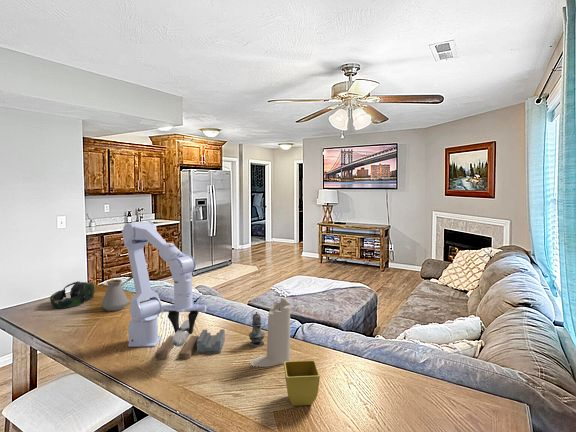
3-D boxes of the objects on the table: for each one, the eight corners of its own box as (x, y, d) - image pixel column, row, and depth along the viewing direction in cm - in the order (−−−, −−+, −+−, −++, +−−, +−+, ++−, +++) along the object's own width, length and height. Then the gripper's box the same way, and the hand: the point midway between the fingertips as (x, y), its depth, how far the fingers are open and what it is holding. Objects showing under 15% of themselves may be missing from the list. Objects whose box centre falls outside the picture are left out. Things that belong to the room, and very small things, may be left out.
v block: (196, 353, 124) (196, 341, 124) (203, 340, 134) (202, 329, 134) (220, 352, 125) (220, 341, 124) (224, 340, 134) (224, 329, 134)
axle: (184, 346, 114) (184, 334, 114) (171, 346, 114) (171, 334, 114) (194, 331, 126) (194, 320, 126) (182, 330, 126) (182, 319, 125)
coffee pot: (112, 314, 161) (111, 281, 160) (95, 310, 167) (94, 278, 165) (150, 301, 180) (150, 271, 179) (135, 297, 185) (134, 268, 184)
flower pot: (283, 391, 101) (283, 360, 100) (314, 390, 102) (314, 359, 101) (286, 411, 93) (286, 377, 92) (320, 409, 93) (320, 376, 93)
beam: (156, 359, 120) (156, 353, 120) (169, 340, 134) (168, 336, 134) (189, 358, 120) (189, 353, 120) (199, 340, 134) (198, 335, 134)
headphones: (72, 284, 188) (39, 302, 169) (85, 268, 184) (53, 285, 165) (91, 303, 188) (60, 322, 169) (104, 287, 184) (74, 305, 165)
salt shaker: (262, 348, 128) (262, 314, 127) (246, 346, 130) (246, 313, 129) (266, 341, 134) (266, 309, 133) (251, 339, 135) (251, 308, 134)
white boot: (246, 360, 120) (245, 300, 118) (284, 352, 125) (285, 295, 123) (252, 370, 113) (252, 307, 111) (293, 361, 118) (293, 301, 117)
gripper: (156, 296, 115) (157, 338, 116) (202, 296, 115) (203, 337, 117) (164, 290, 122) (165, 329, 123) (207, 290, 122) (207, 329, 124)
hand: (184, 333), depth 120 cm, fingers closed on axle, 4 cm apart
